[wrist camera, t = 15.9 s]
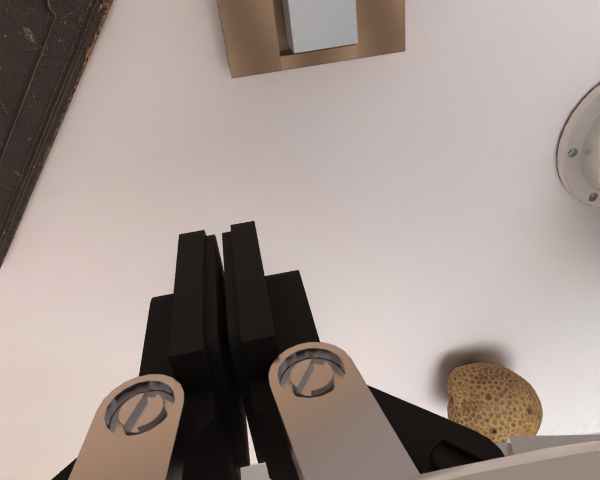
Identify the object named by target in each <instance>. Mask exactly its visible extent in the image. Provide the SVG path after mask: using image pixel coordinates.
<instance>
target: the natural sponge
mask: <svg viewBox="0 0 600 480" xmlns="http://www.w3.org/2000/svg"><path fill="white" fill-rule="evenodd" d="M447 391H448V395H449V403H448V408H447V410H448V418H449V420H451V421H453V422H456V423H458V424H460V425H463V426H465V427H468V428H470V429H472V430H475V431H477V432H478V433H480V434H482V435H484V436H486V437H487V438H489V439H490V440H491V441H492V442H494V443H508V436H535V435H536V434H537V432H538V430H539V428H540V425H541V421H542V415H543V412H542V406H541V402H540V400H539V398H538V396H537V394H536V392H535V390H534V389H533V388H532V386H531V385H530V384H529V383H528V382H527V381H526V380H525V379H523V378H522V377H520V376H519V375H517V374H516V373H514V372H513V371H511V370H510V369H508V368H506V367H504V366H501V365H498V364H494V363H489V362H473V363H469V364H466V365H462V366H458V367H456V368H455V369H454V370H452V372H451V373H450V375H449V378H448V384H447Z"/></svg>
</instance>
